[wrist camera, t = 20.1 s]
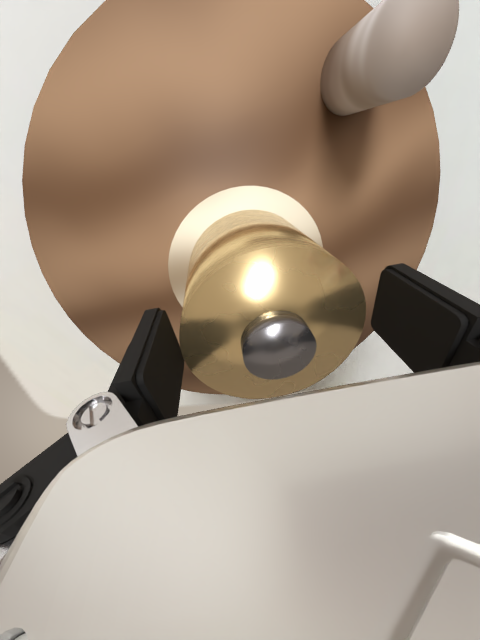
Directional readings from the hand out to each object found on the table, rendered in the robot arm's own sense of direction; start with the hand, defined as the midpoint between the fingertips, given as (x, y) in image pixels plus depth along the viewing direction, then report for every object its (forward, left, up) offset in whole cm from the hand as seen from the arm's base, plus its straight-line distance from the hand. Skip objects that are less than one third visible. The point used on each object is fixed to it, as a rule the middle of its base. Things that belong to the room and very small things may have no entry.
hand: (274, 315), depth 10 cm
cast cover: (0, 0, -4) cm, 4 cm away
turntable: (+1, 0, -6) cm, 6 cm away
